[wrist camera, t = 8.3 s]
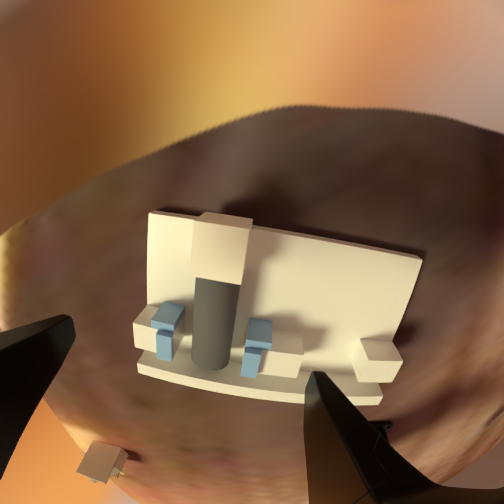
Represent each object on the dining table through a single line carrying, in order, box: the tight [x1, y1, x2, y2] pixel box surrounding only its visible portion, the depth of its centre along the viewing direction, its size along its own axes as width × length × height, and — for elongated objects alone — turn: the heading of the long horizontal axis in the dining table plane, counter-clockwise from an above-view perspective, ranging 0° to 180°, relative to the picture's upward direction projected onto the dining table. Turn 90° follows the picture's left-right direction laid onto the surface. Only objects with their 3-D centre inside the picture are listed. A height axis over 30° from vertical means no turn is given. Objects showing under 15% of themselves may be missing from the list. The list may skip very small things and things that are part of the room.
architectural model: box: [76, 440, 128, 484], centre depth 26 cm, size 3×7×7 cm, turn 98°
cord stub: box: [189, 212, 253, 371], centre depth 16 cm, size 3×10×3 cm, turn 171°
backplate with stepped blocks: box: [133, 210, 423, 405], centre depth 17 cm, size 18×11×4 cm, turn 81°
